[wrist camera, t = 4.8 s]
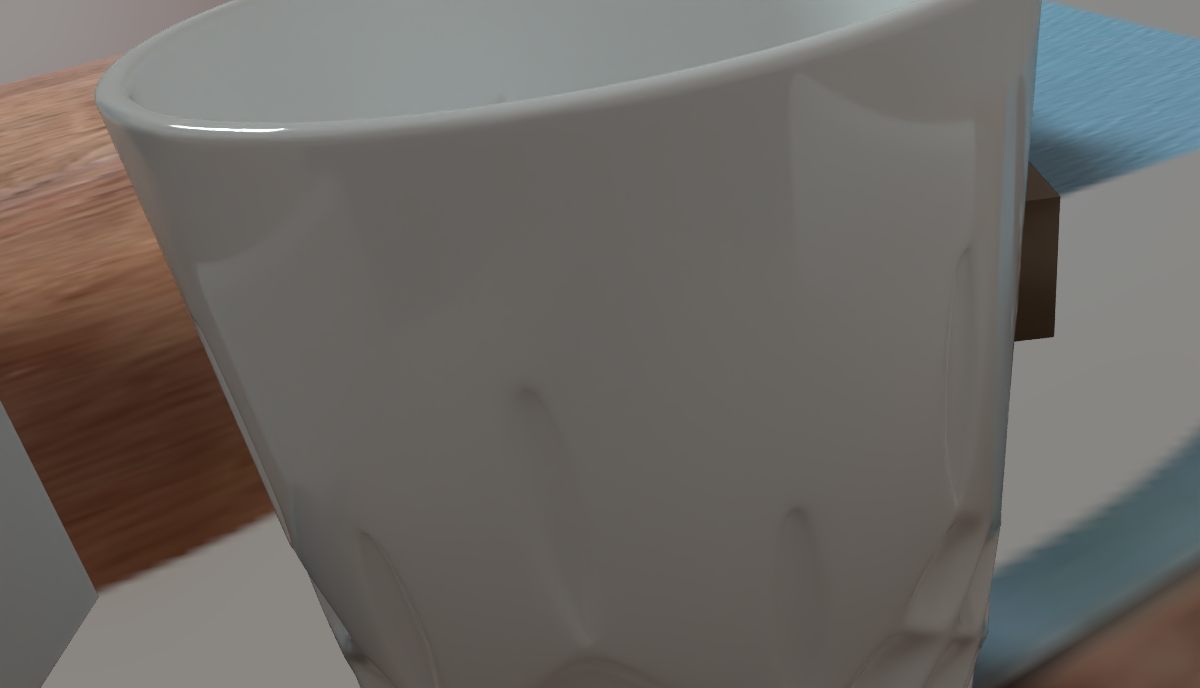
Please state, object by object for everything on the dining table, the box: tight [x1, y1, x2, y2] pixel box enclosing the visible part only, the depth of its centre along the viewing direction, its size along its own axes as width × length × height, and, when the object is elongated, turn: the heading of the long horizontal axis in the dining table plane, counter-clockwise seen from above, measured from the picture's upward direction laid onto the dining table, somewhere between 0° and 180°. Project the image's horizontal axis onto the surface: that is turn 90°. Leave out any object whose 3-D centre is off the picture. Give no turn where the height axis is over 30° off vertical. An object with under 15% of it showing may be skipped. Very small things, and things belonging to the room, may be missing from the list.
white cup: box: [95, 0, 1042, 688], centre depth 12 cm, size 8×8×10 cm
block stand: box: [1014, 162, 1060, 342], centre depth 28 cm, size 15×15×6 cm
